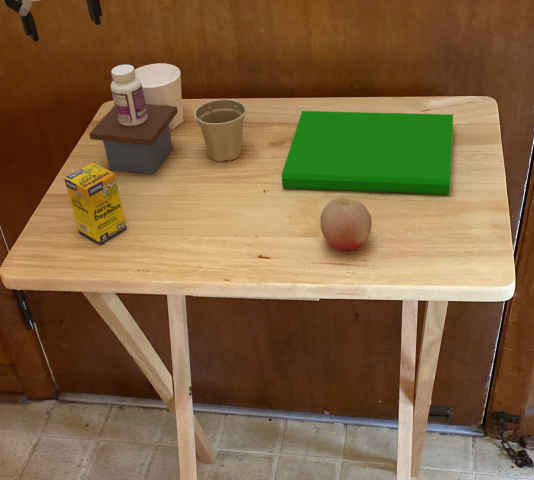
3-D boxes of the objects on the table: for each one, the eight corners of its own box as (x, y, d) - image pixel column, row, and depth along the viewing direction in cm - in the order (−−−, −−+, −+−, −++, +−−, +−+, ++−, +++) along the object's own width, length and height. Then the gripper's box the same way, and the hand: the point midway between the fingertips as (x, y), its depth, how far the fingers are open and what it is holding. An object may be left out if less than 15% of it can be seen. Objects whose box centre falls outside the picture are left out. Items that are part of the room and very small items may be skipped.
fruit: (373, 230, 130) (373, 187, 125) (369, 261, 124) (369, 218, 119) (323, 228, 132) (322, 186, 126) (317, 259, 126) (315, 216, 120)
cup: (192, 128, 159) (185, 81, 152) (142, 139, 157) (132, 91, 151) (181, 105, 166) (174, 59, 160) (133, 115, 165) (124, 69, 158)
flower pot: (209, 138, 156) (203, 96, 150) (256, 142, 153) (252, 100, 147) (193, 164, 149) (186, 122, 143) (242, 168, 147) (237, 125, 141)
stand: (158, 180, 146) (150, 139, 140) (98, 173, 149) (88, 133, 144) (183, 146, 154) (176, 106, 149) (126, 140, 158) (117, 101, 152)
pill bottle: (143, 109, 149) (133, 59, 142) (152, 122, 145) (142, 71, 139) (114, 117, 147) (103, 67, 141) (123, 130, 144) (111, 79, 137)
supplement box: (100, 246, 132) (85, 189, 125) (78, 233, 136) (62, 177, 128) (128, 229, 135) (115, 172, 128) (105, 216, 139) (91, 161, 131)
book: (302, 125, 157) (302, 110, 155) (451, 129, 152) (453, 114, 149) (282, 189, 141) (281, 174, 139) (448, 196, 135) (450, 181, 133)
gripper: (-22, -73, 106) (15, 54, 117) (104, -100, 111) (128, 24, 122) (-34, -86, 111) (3, 36, 122) (87, -112, 116) (111, 8, 127)
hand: (65, 30), depth 122 cm, fingers open, 9 cm apart
